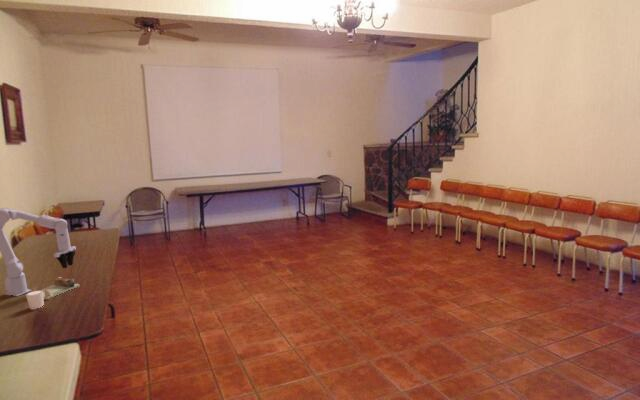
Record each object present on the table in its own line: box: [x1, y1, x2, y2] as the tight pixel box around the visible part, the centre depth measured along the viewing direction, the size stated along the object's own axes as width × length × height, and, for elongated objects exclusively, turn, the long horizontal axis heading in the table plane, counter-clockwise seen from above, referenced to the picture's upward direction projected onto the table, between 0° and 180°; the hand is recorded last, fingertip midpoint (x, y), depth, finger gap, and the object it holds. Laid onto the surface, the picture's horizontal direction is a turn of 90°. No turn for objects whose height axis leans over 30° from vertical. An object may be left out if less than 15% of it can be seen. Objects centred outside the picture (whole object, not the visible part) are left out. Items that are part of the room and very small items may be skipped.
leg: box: [53, 277, 76, 287], centre depth 231 cm, size 12×3×3 cm, turn 68°
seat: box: [30, 276, 81, 300], centre depth 226 cm, size 14×18×4 cm
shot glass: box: [25, 289, 45, 310], centre depth 207 cm, size 7×7×7 cm
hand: (67, 266), depth 237 cm, fingers open, 4 cm apart
